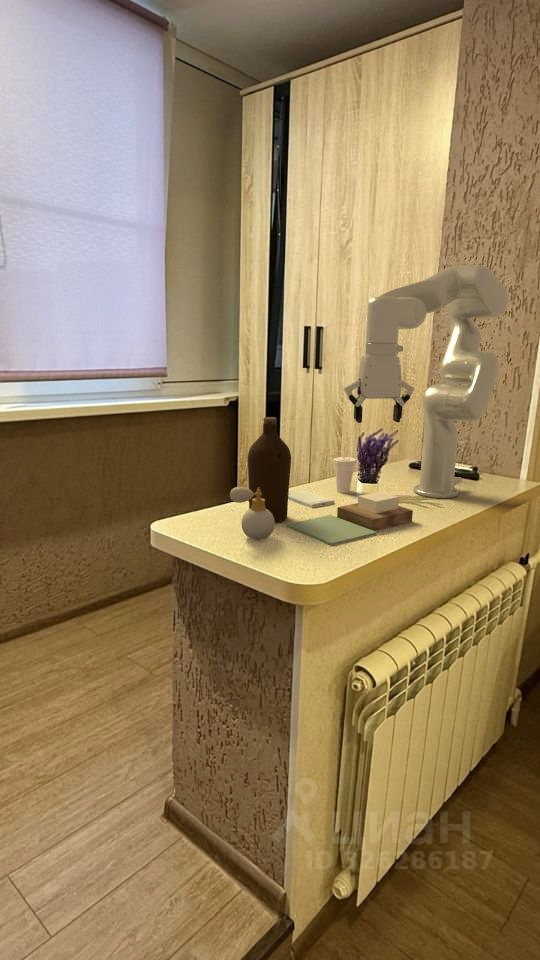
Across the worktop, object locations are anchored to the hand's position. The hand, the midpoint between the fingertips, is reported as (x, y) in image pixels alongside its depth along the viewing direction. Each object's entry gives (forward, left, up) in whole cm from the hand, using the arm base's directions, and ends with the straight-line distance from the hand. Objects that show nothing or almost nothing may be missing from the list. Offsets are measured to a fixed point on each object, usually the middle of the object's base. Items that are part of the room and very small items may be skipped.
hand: (377, 421), depth 148 cm
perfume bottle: (+36, -1, -24) cm, 43 cm away
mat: (+17, +4, -24) cm, 30 cm away
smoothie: (-10, -21, -24) cm, 34 cm away
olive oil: (+24, -12, -24) cm, 36 cm away
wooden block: (+3, +4, -24) cm, 24 cm away
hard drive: (+5, -19, -25) cm, 32 cm away
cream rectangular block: (+2, +4, -21) cm, 21 cm away
